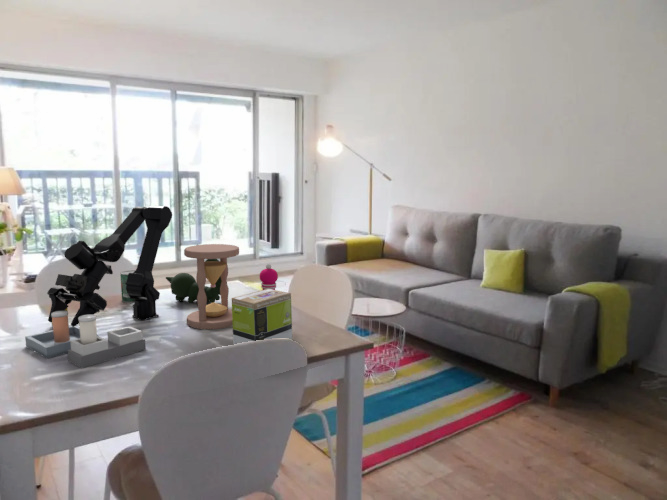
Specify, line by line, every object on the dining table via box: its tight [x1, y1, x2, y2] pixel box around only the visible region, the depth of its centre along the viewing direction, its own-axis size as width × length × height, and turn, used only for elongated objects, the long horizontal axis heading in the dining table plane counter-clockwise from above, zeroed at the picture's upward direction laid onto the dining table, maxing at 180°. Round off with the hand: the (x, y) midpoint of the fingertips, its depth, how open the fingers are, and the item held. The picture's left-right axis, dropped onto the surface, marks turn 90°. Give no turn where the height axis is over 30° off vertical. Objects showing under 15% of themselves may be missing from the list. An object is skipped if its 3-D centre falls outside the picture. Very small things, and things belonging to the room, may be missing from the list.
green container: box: [120, 269, 136, 304], centre depth 196 cm, size 8×8×11 cm
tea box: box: [231, 289, 293, 345], centre depth 149 cm, size 15×10×15 cm
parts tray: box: [24, 325, 99, 359], centre depth 146 cm, size 14×14×3 cm
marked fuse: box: [51, 310, 70, 344], centre depth 145 cm, size 4×4×9 cm
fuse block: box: [67, 326, 147, 369], centre depth 139 cm, size 18×7×6 cm, turn 141°
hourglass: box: [183, 243, 240, 330], centre depth 169 cm, size 18×18×25 cm
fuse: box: [78, 314, 98, 345], centre depth 134 cm, size 4×4×9 cm
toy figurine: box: [165, 259, 222, 304], centre depth 193 cm, size 9×19×25 cm
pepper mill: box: [259, 263, 279, 290], centre depth 168 cm, size 7×7×20 cm
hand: (60, 323), depth 145 cm, fingers open, 9 cm apart
